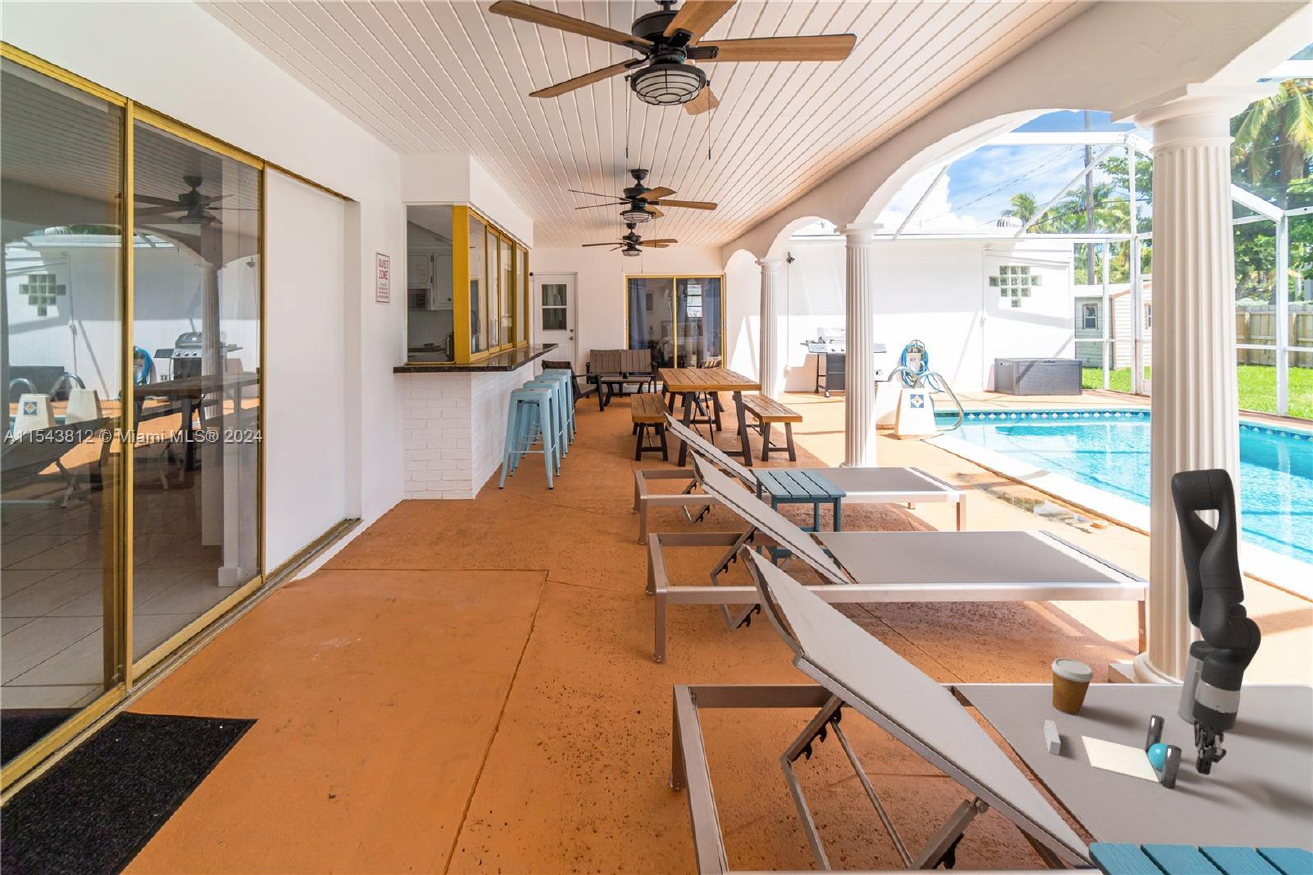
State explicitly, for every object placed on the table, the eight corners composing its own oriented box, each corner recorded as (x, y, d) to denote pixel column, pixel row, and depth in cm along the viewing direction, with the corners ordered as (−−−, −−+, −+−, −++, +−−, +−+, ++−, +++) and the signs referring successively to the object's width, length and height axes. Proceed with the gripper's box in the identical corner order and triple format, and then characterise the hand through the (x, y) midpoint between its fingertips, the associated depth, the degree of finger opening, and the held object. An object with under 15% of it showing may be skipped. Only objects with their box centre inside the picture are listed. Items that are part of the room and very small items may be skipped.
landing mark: (1081, 736, 171) (1081, 735, 171) (1144, 750, 166) (1144, 750, 166) (1091, 766, 159) (1092, 765, 159) (1159, 783, 154) (1159, 782, 154)
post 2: (1158, 780, 155) (1165, 743, 154) (1172, 783, 154) (1179, 746, 153) (1162, 787, 153) (1169, 750, 151) (1176, 790, 152) (1183, 753, 150)
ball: (1172, 740, 161) (1178, 768, 160) (1142, 740, 163) (1148, 767, 162) (1180, 746, 156) (1187, 775, 154) (1149, 746, 158) (1155, 774, 157)
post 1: (1143, 747, 167) (1149, 713, 166) (1156, 750, 166) (1162, 716, 165) (1146, 754, 165) (1152, 719, 163) (1159, 756, 164) (1165, 722, 162)
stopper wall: (1043, 730, 173) (1045, 719, 172) (1052, 732, 172) (1054, 721, 171) (1049, 752, 164) (1051, 741, 163) (1058, 755, 163) (1060, 743, 162)
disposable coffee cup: (1093, 720, 178) (1100, 677, 176) (1053, 714, 180) (1059, 672, 178) (1078, 701, 188) (1085, 659, 186) (1040, 695, 189) (1046, 655, 187)
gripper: (1186, 683, 161) (1173, 751, 164) (1206, 712, 149) (1191, 785, 152) (1226, 691, 158) (1212, 760, 161) (1249, 721, 146) (1233, 795, 149)
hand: (1202, 772), depth 156 cm, fingers closed
